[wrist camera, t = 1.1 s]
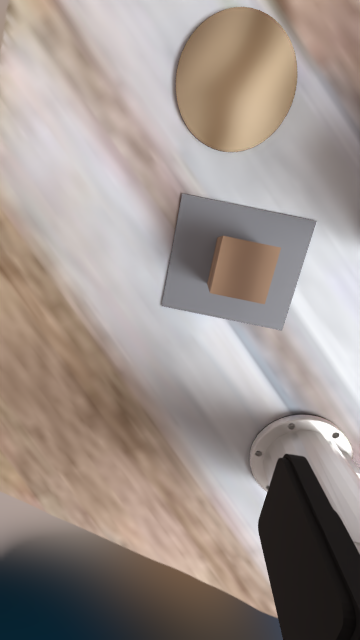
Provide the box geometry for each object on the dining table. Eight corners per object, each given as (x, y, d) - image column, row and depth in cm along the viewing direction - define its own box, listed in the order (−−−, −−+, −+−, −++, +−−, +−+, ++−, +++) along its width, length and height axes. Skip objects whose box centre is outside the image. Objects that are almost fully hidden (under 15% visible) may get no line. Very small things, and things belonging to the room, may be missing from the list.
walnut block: (263, 246, 29) (281, 247, 23) (251, 292, 30) (264, 304, 25) (217, 237, 29) (223, 235, 23) (207, 283, 30) (209, 293, 25)
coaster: (312, 24, 24) (313, 21, 24) (275, 162, 27) (277, 161, 27) (189, -1, 24) (189, -5, 24) (166, 139, 27) (166, 138, 27)
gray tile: (315, 221, 28) (316, 220, 28) (281, 330, 32) (282, 330, 31) (182, 193, 28) (182, 193, 28) (161, 305, 32) (161, 306, 31)
